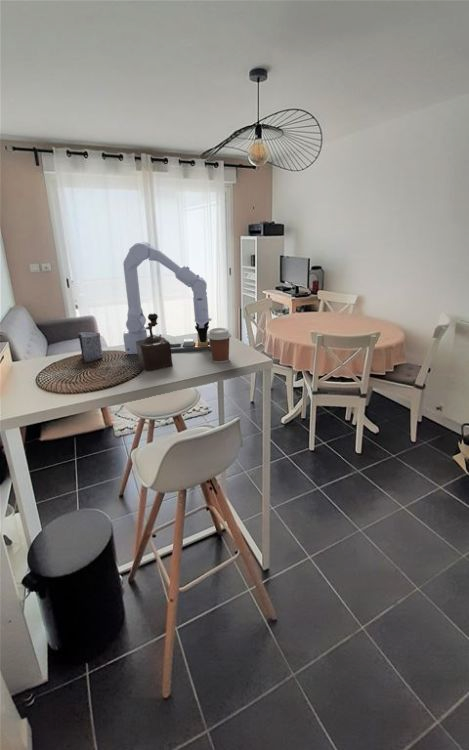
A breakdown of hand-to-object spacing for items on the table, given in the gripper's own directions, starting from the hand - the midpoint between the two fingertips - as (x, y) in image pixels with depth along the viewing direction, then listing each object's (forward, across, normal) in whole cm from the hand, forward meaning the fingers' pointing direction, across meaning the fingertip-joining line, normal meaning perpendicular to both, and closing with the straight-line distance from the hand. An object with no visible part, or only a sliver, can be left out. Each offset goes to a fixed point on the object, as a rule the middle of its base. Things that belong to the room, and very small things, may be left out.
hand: (203, 340), depth 152 cm
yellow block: (+3, 0, 0) cm, 3 cm away
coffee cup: (+4, -16, -7) cm, 18 cm away
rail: (+3, 0, +6) cm, 7 cm away
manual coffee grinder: (+4, -15, +19) cm, 24 cm away
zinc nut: (+3, 0, +6) cm, 7 cm away
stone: (+4, -6, +45) cm, 46 cm away
